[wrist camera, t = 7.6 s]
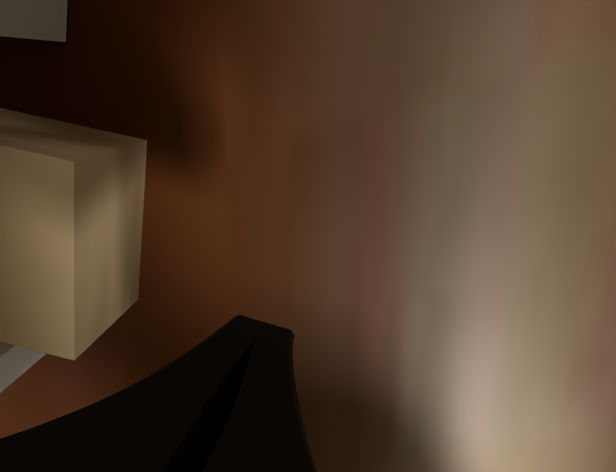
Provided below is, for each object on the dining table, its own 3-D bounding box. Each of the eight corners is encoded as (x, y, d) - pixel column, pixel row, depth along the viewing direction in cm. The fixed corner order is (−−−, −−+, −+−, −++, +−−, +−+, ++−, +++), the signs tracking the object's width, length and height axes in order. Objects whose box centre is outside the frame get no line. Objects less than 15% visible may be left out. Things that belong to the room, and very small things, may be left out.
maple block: (150, 139, 15) (74, 161, 11) (140, 297, 17) (74, 360, 13) (-19, 102, 15) (-147, 112, 12) (-8, 260, 17) (-112, 312, 14)
